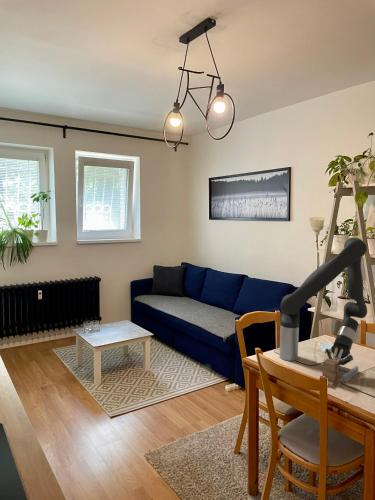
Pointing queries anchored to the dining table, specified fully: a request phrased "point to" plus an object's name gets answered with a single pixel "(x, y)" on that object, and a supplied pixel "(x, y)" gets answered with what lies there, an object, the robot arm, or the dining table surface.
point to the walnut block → (331, 372)
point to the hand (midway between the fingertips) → (333, 371)
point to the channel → (348, 372)
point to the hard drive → (325, 346)
